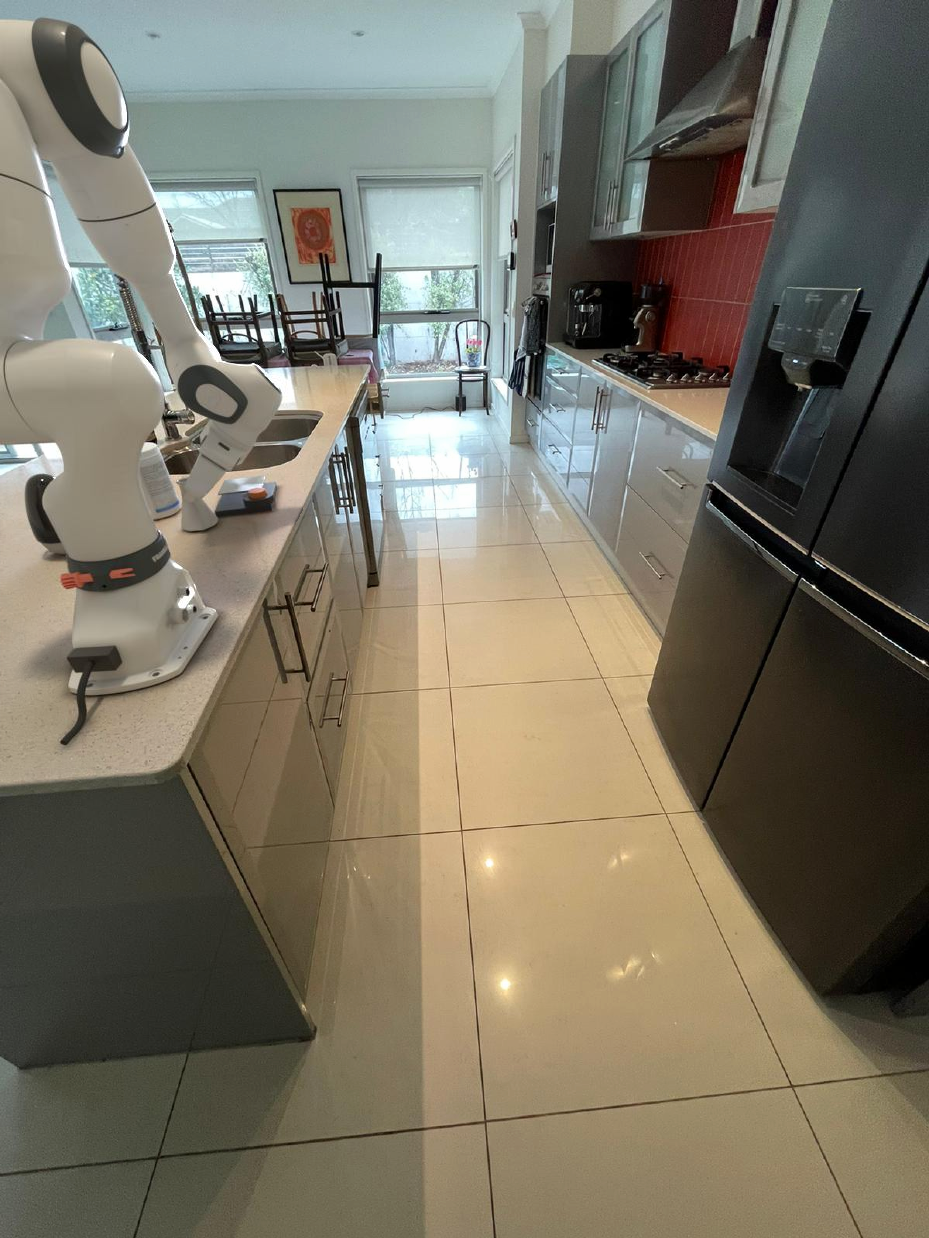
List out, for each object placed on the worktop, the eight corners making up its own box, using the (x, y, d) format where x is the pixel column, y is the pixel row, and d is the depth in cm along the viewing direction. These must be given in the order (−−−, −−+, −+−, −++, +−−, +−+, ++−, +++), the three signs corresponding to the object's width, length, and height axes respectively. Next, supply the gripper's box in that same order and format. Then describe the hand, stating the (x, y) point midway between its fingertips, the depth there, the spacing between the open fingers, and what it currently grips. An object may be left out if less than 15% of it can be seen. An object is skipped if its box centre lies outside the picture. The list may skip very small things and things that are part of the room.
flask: (205, 533, 107) (188, 486, 101) (175, 531, 108) (157, 485, 103) (225, 519, 113) (211, 474, 107) (196, 517, 114) (180, 473, 108)
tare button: (266, 498, 115) (264, 492, 115) (249, 500, 115) (247, 494, 114) (267, 493, 118) (265, 486, 118) (251, 495, 118) (249, 488, 117)
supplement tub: (183, 502, 123) (160, 439, 114) (180, 517, 115) (155, 451, 107) (138, 509, 120) (112, 445, 112) (132, 524, 113) (103, 457, 104)
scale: (275, 511, 116) (271, 498, 114) (216, 518, 114) (211, 505, 112) (279, 486, 129) (276, 475, 128) (226, 492, 127) (223, 480, 126)
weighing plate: (261, 490, 119) (261, 489, 119) (218, 495, 117) (217, 493, 117) (265, 477, 127) (265, 475, 126) (224, 481, 125) (224, 480, 125)
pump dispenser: (115, 544, 105) (81, 470, 96) (59, 565, 98) (17, 487, 89) (91, 533, 109) (57, 462, 101) (36, 552, 102) (-6, 478, 94)
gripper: (218, 420, 110) (185, 471, 113) (200, 446, 93) (162, 504, 97) (246, 440, 113) (213, 488, 117) (233, 468, 96) (195, 523, 100)
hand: (190, 495), depth 107 cm, fingers closed on flask, 3 cm apart
